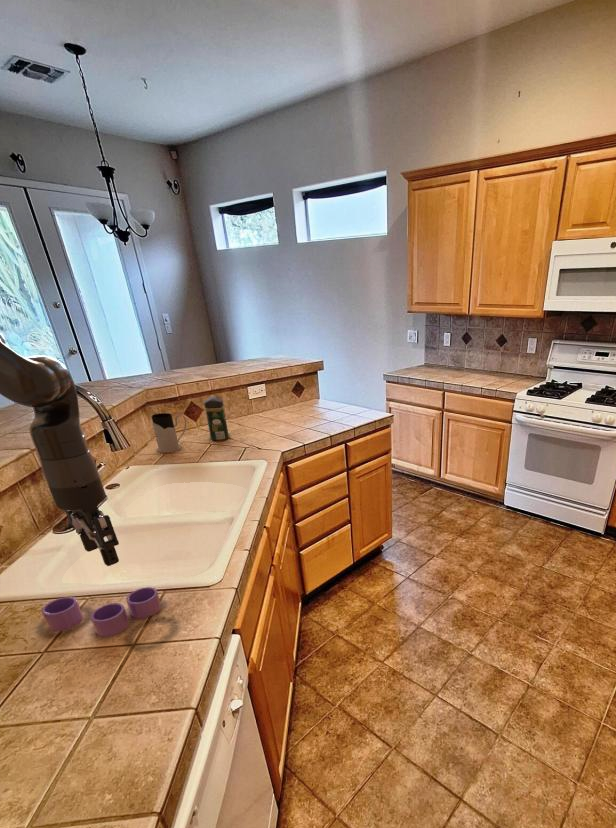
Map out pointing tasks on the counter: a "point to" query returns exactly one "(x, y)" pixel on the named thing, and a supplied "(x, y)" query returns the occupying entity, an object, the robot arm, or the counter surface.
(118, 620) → the dish middle
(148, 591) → the dish far
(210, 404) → the coffee jar
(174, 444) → the grey mug
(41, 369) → the robot arm
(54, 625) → the purple short hollow cylinder
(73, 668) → the counter surface
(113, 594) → the counter surface
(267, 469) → the counter surface
